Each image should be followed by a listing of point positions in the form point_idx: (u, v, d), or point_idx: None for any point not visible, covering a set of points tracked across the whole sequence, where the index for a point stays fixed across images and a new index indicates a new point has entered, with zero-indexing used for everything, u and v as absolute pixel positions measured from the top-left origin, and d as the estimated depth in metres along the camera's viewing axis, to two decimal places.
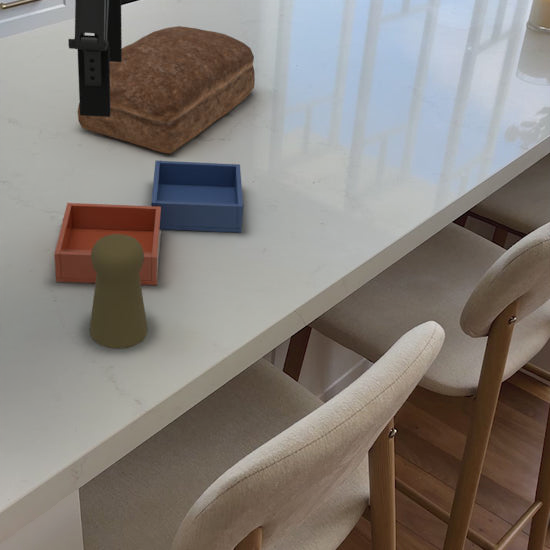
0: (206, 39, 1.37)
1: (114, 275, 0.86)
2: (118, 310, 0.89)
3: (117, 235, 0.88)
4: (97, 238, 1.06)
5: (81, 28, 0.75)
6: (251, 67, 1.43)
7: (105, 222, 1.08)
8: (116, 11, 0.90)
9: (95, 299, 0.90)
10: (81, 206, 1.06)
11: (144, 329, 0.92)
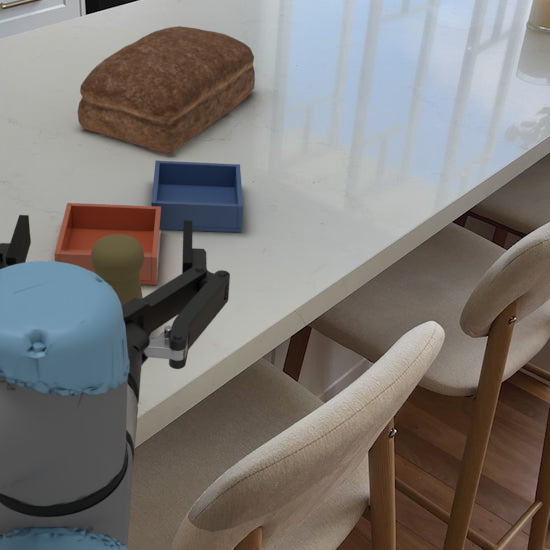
0: (206, 39, 1.37)
1: (114, 275, 0.86)
2: None
3: (117, 235, 0.88)
4: (97, 238, 1.06)
5: None
6: (251, 67, 1.43)
7: (105, 222, 1.08)
8: None
9: None
10: (81, 206, 1.06)
11: None
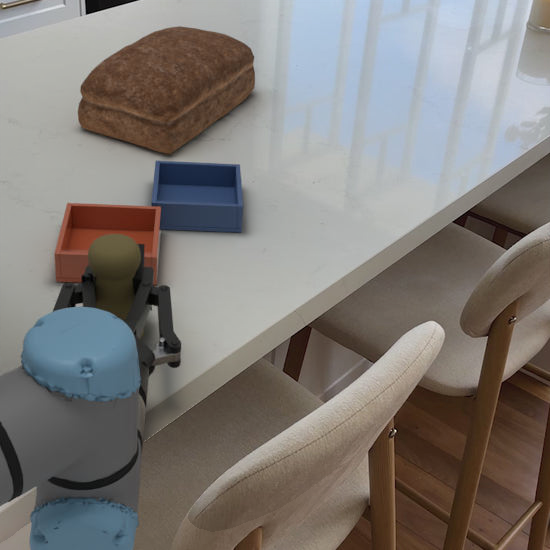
0: (206, 39, 1.37)
1: (110, 275, 0.86)
2: (114, 310, 0.89)
3: (114, 235, 0.88)
4: None
5: None
6: (251, 67, 1.43)
7: (105, 222, 1.08)
8: None
9: None
10: (81, 206, 1.06)
11: None
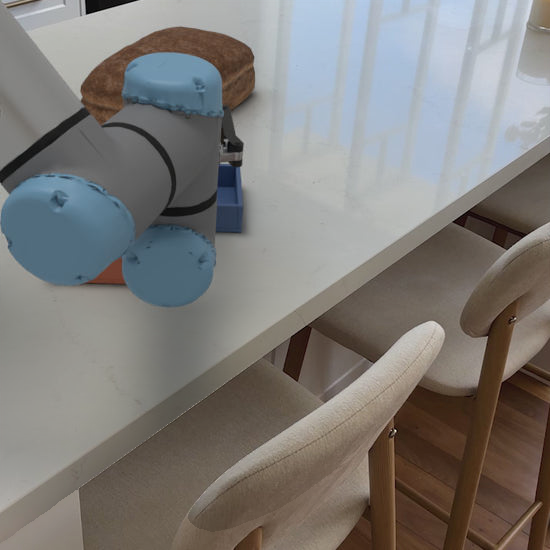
0: (206, 39, 1.36)
1: None
2: None
3: None
4: None
5: None
6: (251, 67, 1.43)
7: None
8: None
9: None
10: None
11: None
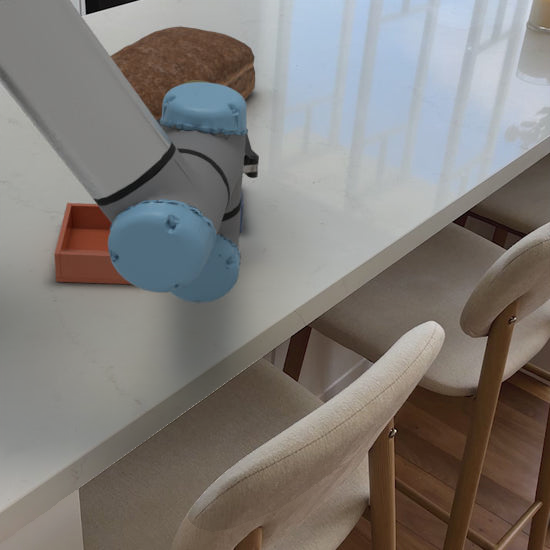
0: (206, 39, 1.36)
1: None
2: None
3: (198, 80, 1.07)
4: (97, 238, 1.06)
5: None
6: (252, 67, 1.43)
7: (105, 222, 1.08)
8: None
9: None
10: (81, 206, 1.06)
11: None
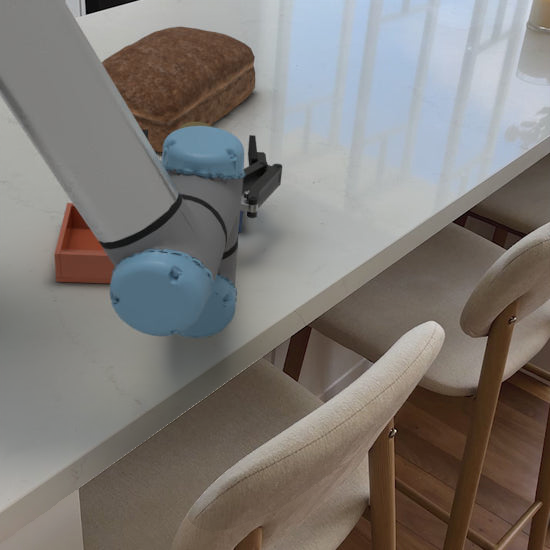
0: (207, 39, 1.36)
1: None
2: None
3: (197, 122, 1.10)
4: None
5: None
6: (252, 67, 1.43)
7: None
8: None
9: None
10: None
11: None
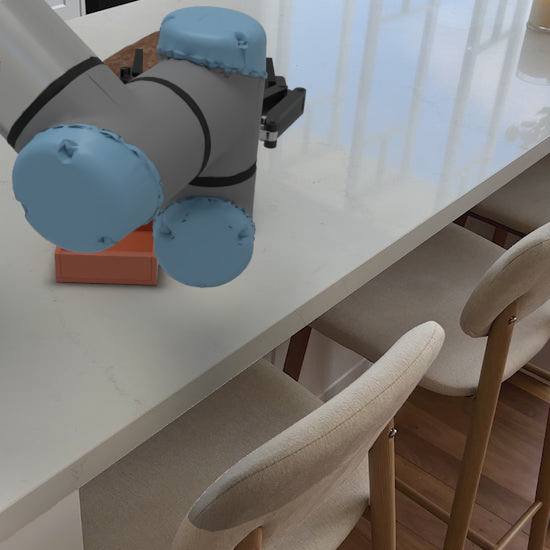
0: None
1: None
2: None
3: None
4: None
5: None
6: None
7: None
8: None
9: None
10: None
11: None
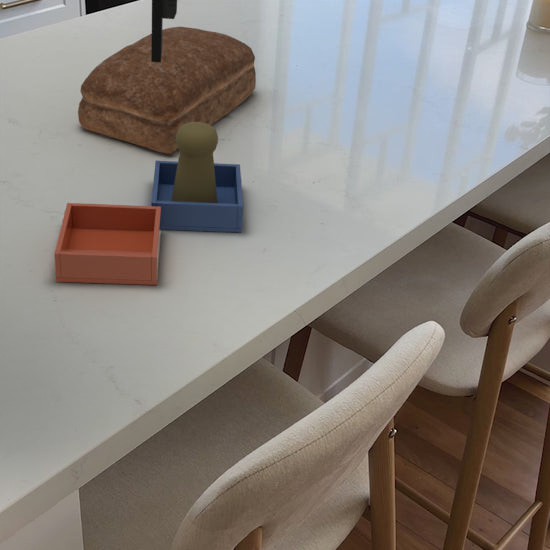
0: (207, 39, 1.36)
1: (194, 152, 1.08)
2: (196, 183, 1.11)
3: (197, 122, 1.10)
4: (97, 238, 1.06)
5: None
6: (252, 67, 1.43)
7: (105, 222, 1.08)
8: None
9: (177, 174, 1.12)
10: (81, 206, 1.06)
11: (215, 202, 1.14)
